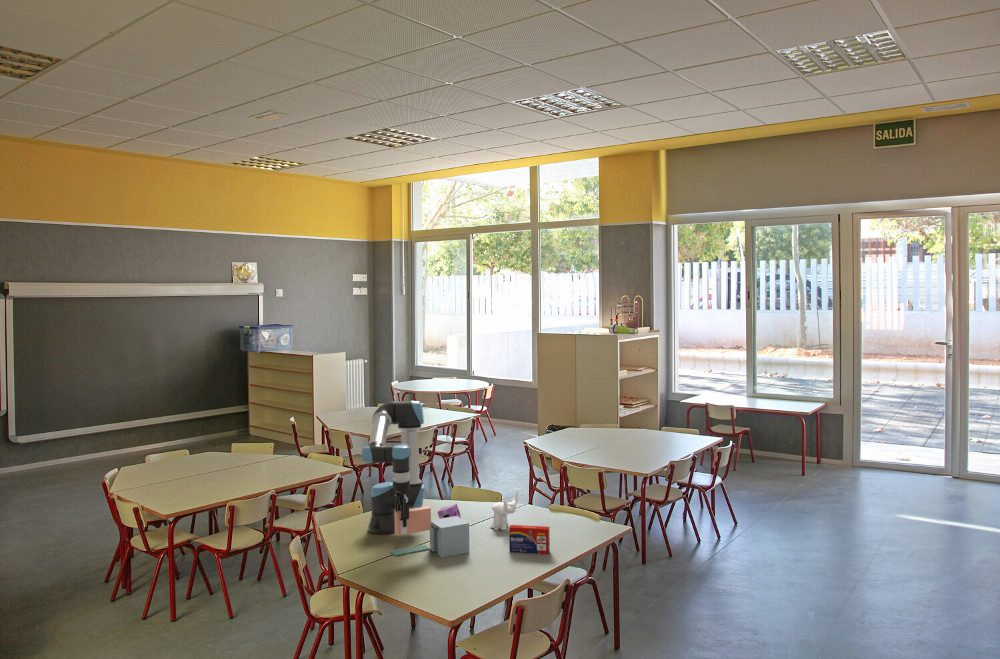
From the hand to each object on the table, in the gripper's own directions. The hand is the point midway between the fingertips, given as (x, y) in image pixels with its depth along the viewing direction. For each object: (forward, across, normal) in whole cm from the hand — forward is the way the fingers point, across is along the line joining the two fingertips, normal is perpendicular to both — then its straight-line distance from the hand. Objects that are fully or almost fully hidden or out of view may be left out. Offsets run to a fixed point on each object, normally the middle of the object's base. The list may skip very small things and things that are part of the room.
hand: (402, 532), depth 326 cm
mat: (+13, -8, +7) cm, 17 cm away
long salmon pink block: (+1, 0, +5) cm, 5 cm away
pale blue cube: (+12, +1, +23) cm, 26 cm away
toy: (+13, -18, +33) cm, 40 cm away
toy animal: (+13, -16, +61) cm, 64 cm away
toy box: (+13, +21, +54) cm, 59 cm away
